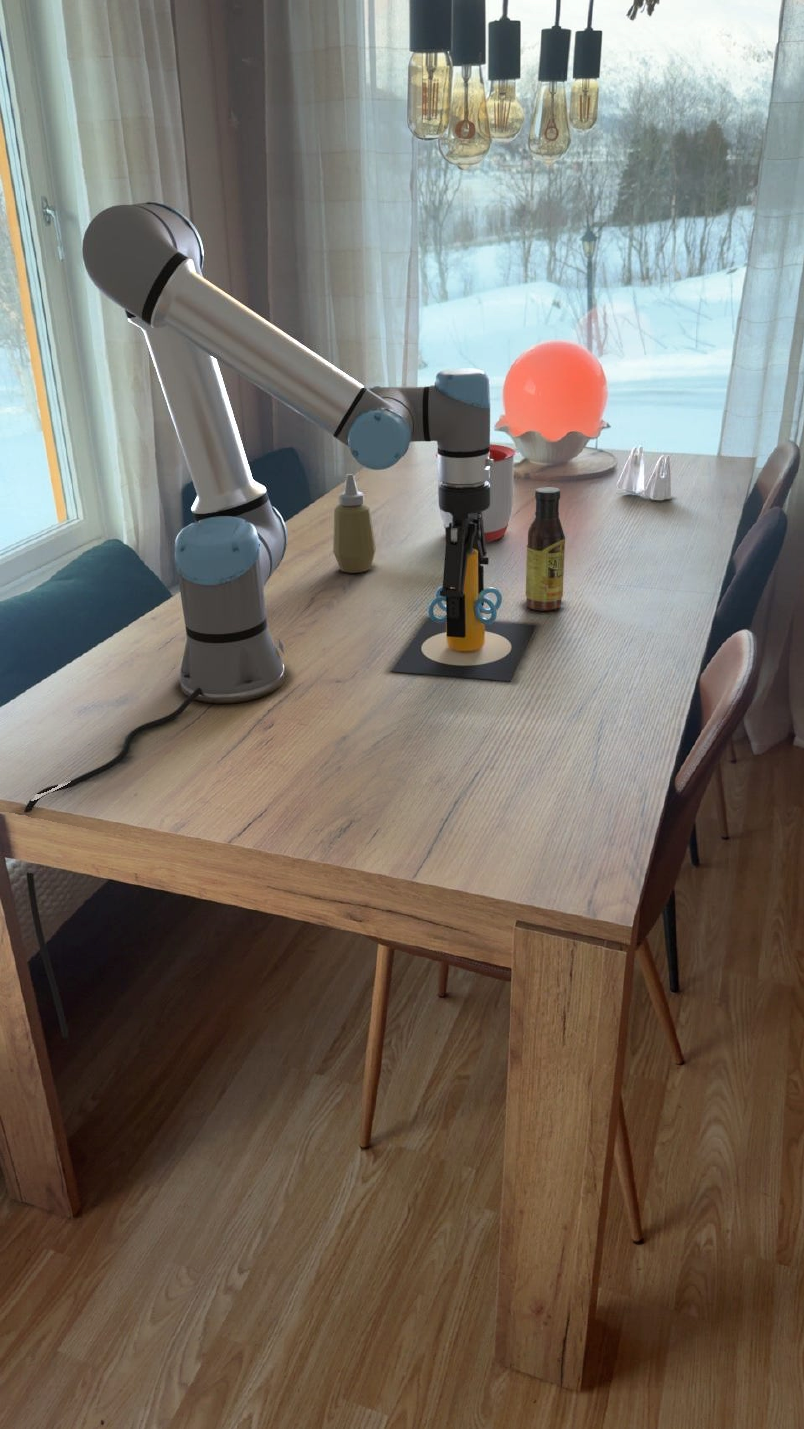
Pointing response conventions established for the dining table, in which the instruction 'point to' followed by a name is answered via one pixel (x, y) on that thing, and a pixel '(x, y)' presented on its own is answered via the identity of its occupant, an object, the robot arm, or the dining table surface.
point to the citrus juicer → (495, 494)
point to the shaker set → (634, 477)
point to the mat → (466, 653)
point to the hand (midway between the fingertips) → (465, 620)
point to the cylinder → (470, 609)
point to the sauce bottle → (545, 553)
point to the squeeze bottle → (353, 530)
